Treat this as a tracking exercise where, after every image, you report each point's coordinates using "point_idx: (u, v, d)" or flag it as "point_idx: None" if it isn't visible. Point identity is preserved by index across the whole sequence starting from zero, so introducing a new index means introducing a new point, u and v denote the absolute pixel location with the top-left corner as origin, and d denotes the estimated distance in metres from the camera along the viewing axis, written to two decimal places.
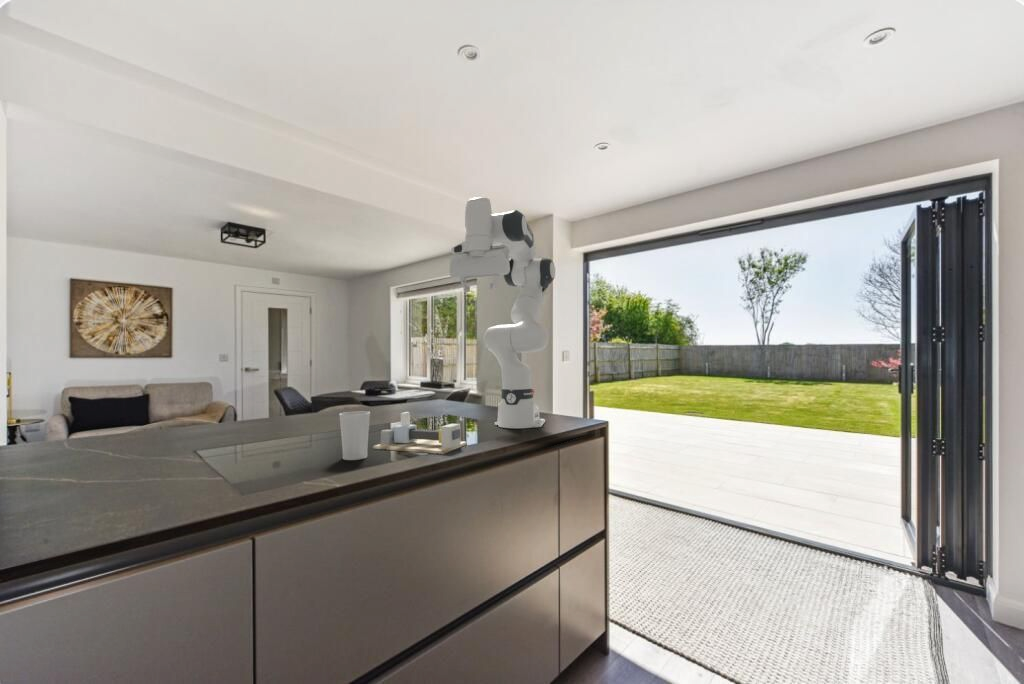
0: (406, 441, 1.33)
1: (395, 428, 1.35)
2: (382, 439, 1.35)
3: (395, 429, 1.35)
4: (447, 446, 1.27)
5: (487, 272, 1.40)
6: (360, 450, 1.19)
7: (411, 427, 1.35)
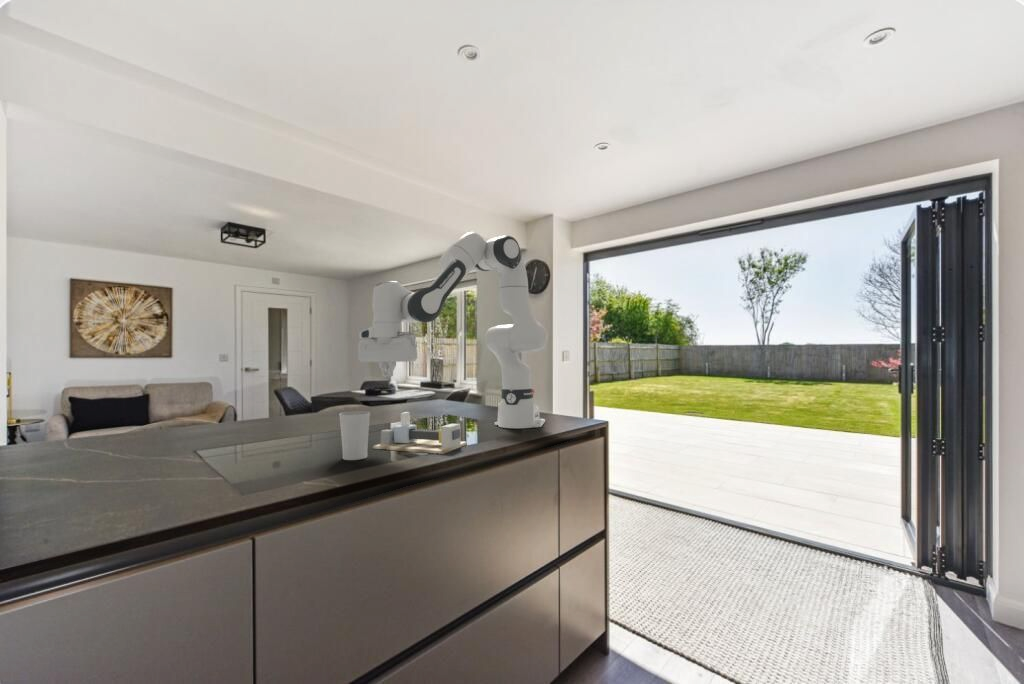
0: (406, 441, 1.33)
1: (395, 428, 1.35)
2: (382, 439, 1.35)
3: (395, 429, 1.35)
4: (447, 446, 1.27)
5: (393, 359, 1.37)
6: (360, 450, 1.19)
7: (411, 427, 1.35)
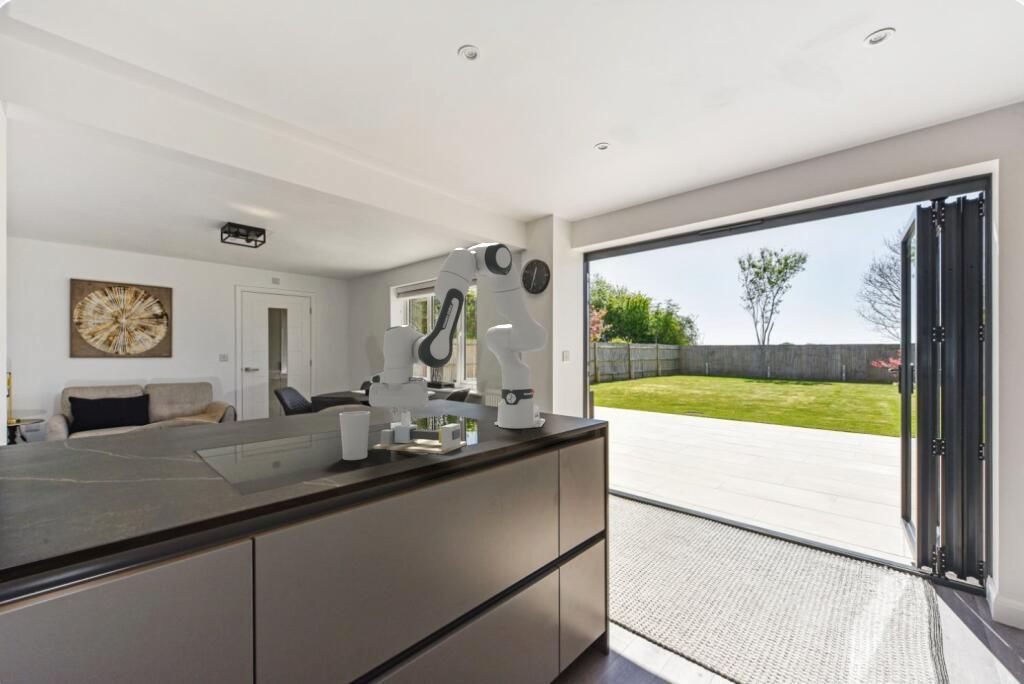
0: (407, 441, 1.33)
1: (396, 428, 1.35)
2: (382, 439, 1.35)
3: (396, 429, 1.35)
4: (447, 446, 1.27)
5: (405, 406, 1.35)
6: (360, 450, 1.19)
7: (412, 427, 1.35)
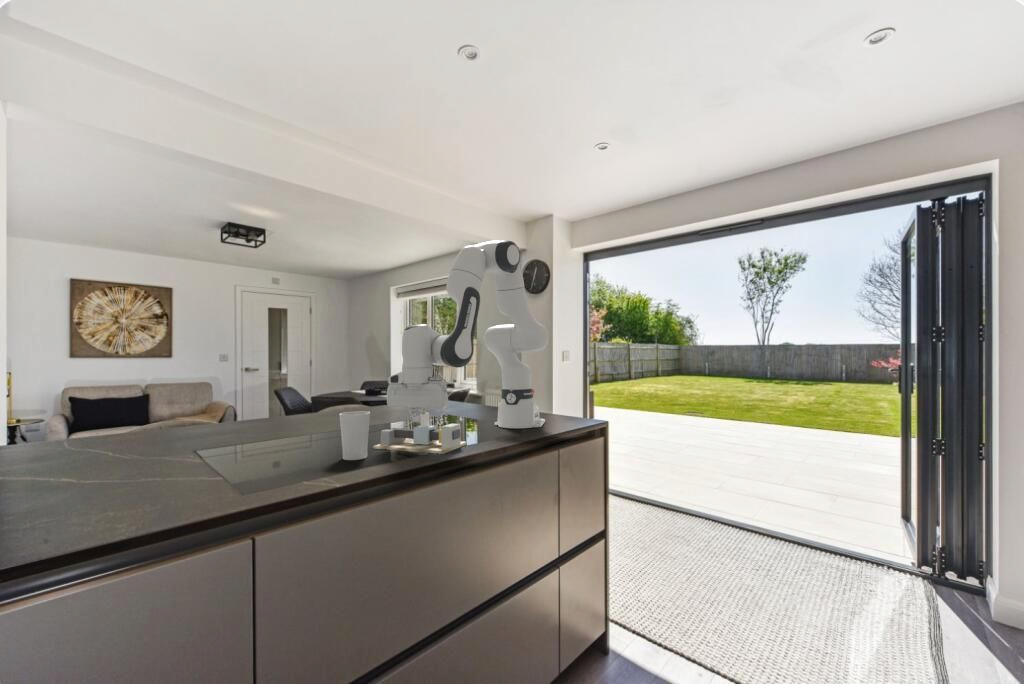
0: (426, 442, 1.31)
1: (415, 429, 1.32)
2: (382, 439, 1.35)
3: (415, 430, 1.32)
4: (447, 446, 1.27)
5: (424, 406, 1.32)
6: (360, 450, 1.19)
7: (431, 428, 1.33)
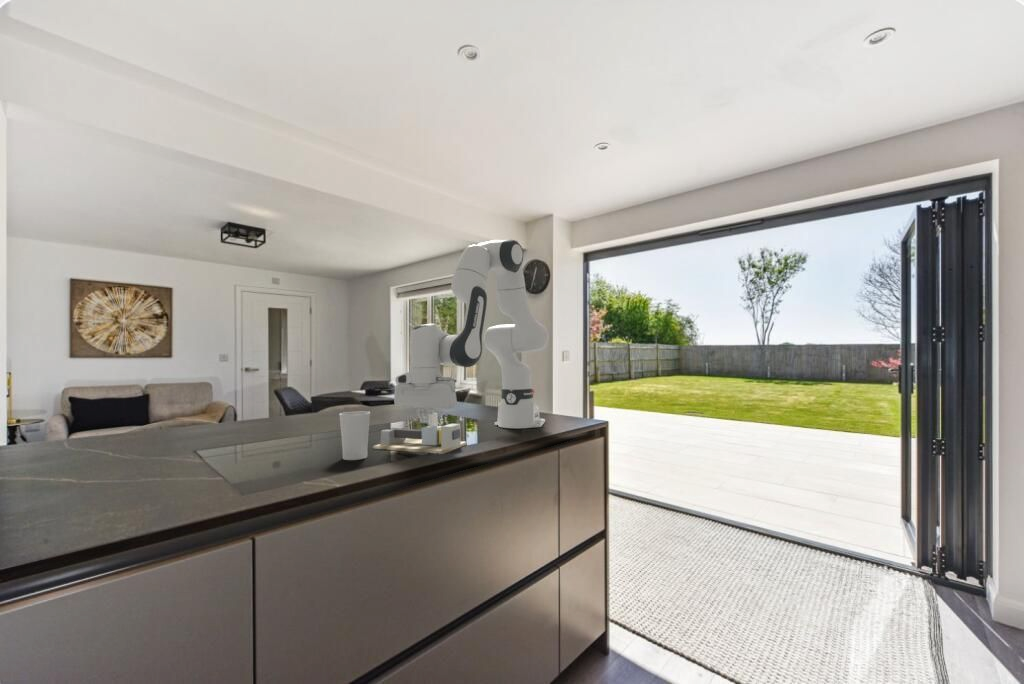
0: (435, 443, 1.30)
1: (423, 430, 1.31)
2: (382, 439, 1.35)
3: (423, 431, 1.31)
4: (447, 446, 1.27)
5: (432, 406, 1.31)
6: (360, 450, 1.19)
7: (439, 429, 1.31)
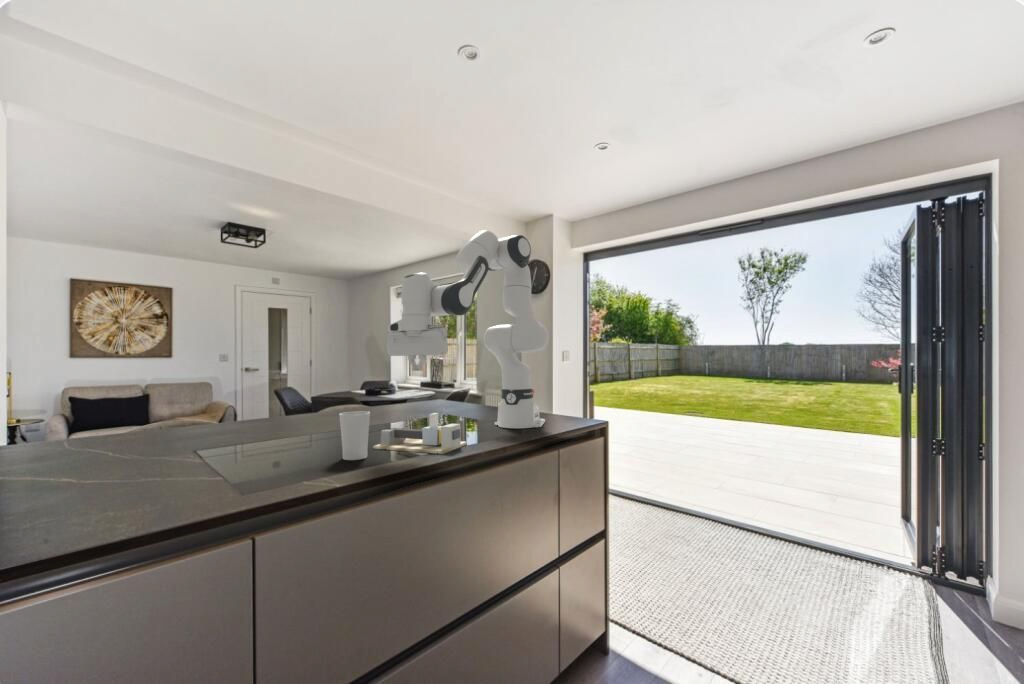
0: (435, 443, 1.30)
1: (424, 430, 1.31)
2: (382, 439, 1.35)
3: (424, 431, 1.31)
4: (447, 446, 1.27)
5: (424, 353, 1.33)
6: (360, 450, 1.19)
7: None
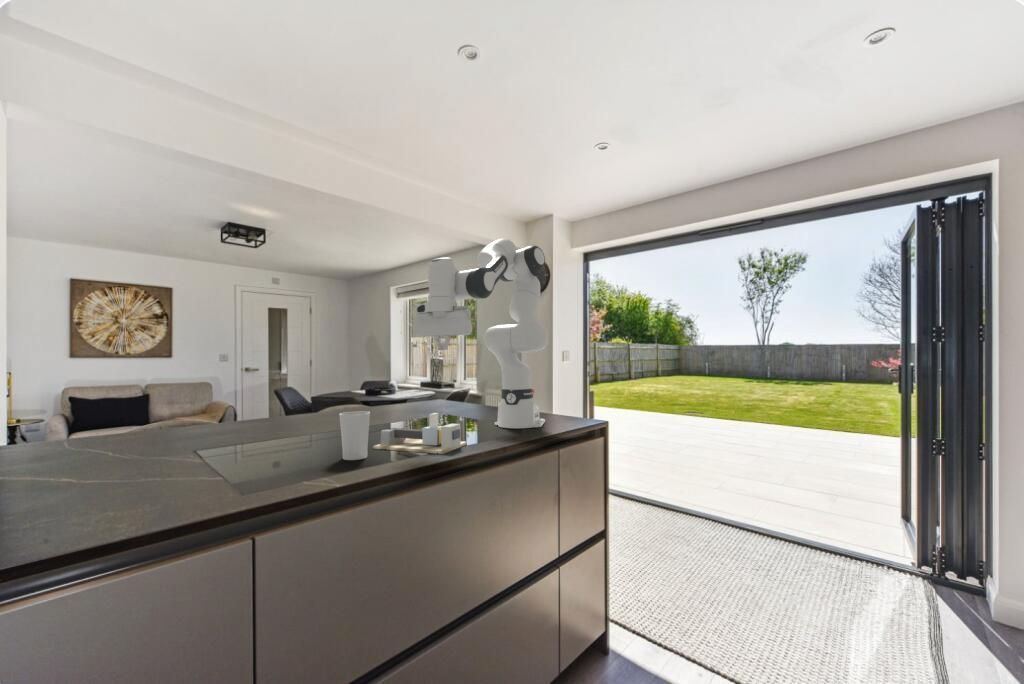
0: (435, 443, 1.30)
1: (424, 430, 1.31)
2: (382, 439, 1.35)
3: (424, 431, 1.31)
4: (447, 446, 1.27)
5: (449, 333, 1.41)
6: (360, 450, 1.19)
7: None
